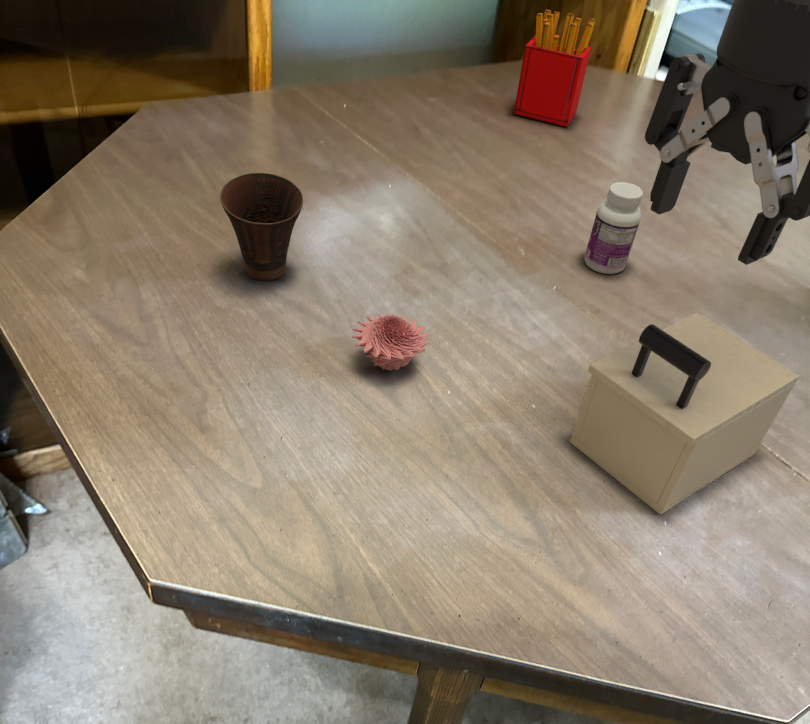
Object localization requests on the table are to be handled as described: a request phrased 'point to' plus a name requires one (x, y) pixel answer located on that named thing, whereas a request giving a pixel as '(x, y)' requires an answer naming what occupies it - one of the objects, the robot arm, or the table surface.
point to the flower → (391, 341)
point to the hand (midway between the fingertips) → (703, 234)
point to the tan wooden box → (663, 446)
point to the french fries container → (553, 70)
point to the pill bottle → (614, 229)
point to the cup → (262, 220)
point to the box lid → (692, 376)
